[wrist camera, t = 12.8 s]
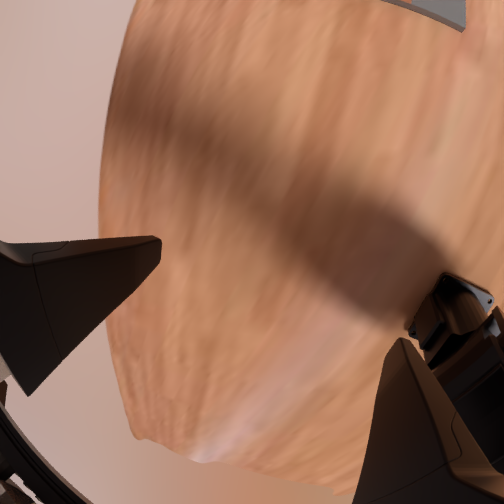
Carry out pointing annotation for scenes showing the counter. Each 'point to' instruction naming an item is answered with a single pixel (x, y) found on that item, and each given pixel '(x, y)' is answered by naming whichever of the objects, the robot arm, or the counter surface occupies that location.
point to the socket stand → (438, 10)
